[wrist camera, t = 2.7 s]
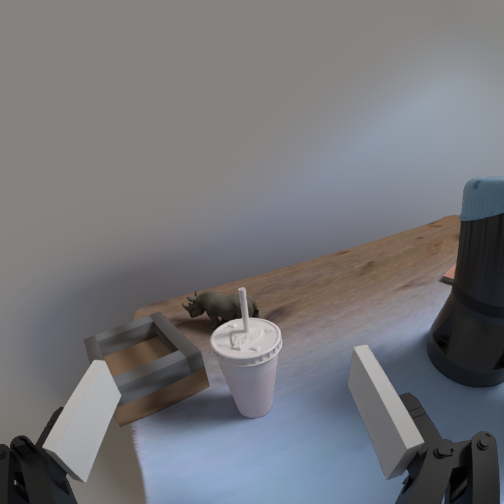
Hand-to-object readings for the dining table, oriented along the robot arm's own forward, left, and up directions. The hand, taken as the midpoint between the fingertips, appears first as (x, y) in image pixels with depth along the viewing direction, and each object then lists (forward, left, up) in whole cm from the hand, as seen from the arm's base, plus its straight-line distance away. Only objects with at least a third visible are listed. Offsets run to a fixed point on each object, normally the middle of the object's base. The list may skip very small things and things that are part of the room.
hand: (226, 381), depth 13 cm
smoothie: (-7, -8, -14) cm, 17 cm away
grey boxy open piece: (+1, -20, -14) cm, 24 cm away
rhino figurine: (-13, -25, -14) cm, 31 cm away
